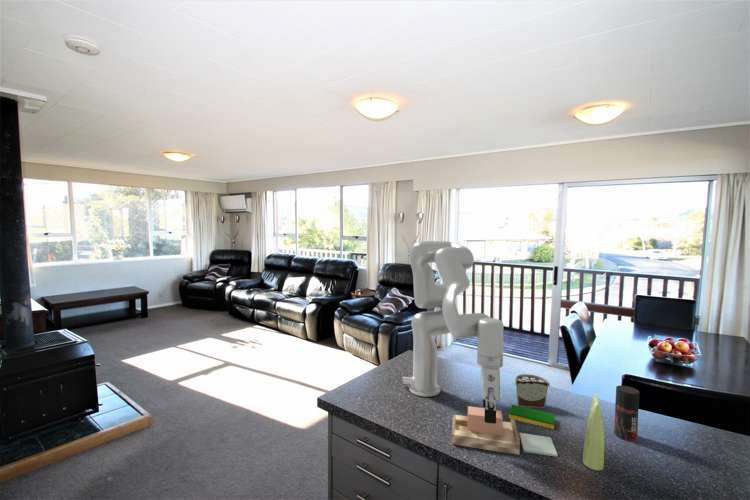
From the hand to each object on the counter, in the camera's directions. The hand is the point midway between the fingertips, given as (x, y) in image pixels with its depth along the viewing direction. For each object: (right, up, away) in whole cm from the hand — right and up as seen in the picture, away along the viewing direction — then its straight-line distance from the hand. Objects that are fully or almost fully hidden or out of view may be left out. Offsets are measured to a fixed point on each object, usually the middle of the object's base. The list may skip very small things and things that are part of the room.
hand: (489, 414), depth 108 cm
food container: (+23, -7, +24) cm, 34 cm away
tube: (+25, -9, -11) cm, 29 cm away
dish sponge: (+19, -8, +13) cm, 24 cm away
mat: (+14, -8, -2) cm, 16 cm away
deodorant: (+44, -9, +3) cm, 45 cm away
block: (-1, -2, +1) cm, 3 cm away
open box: (-1, -8, +1) cm, 8 cm away
